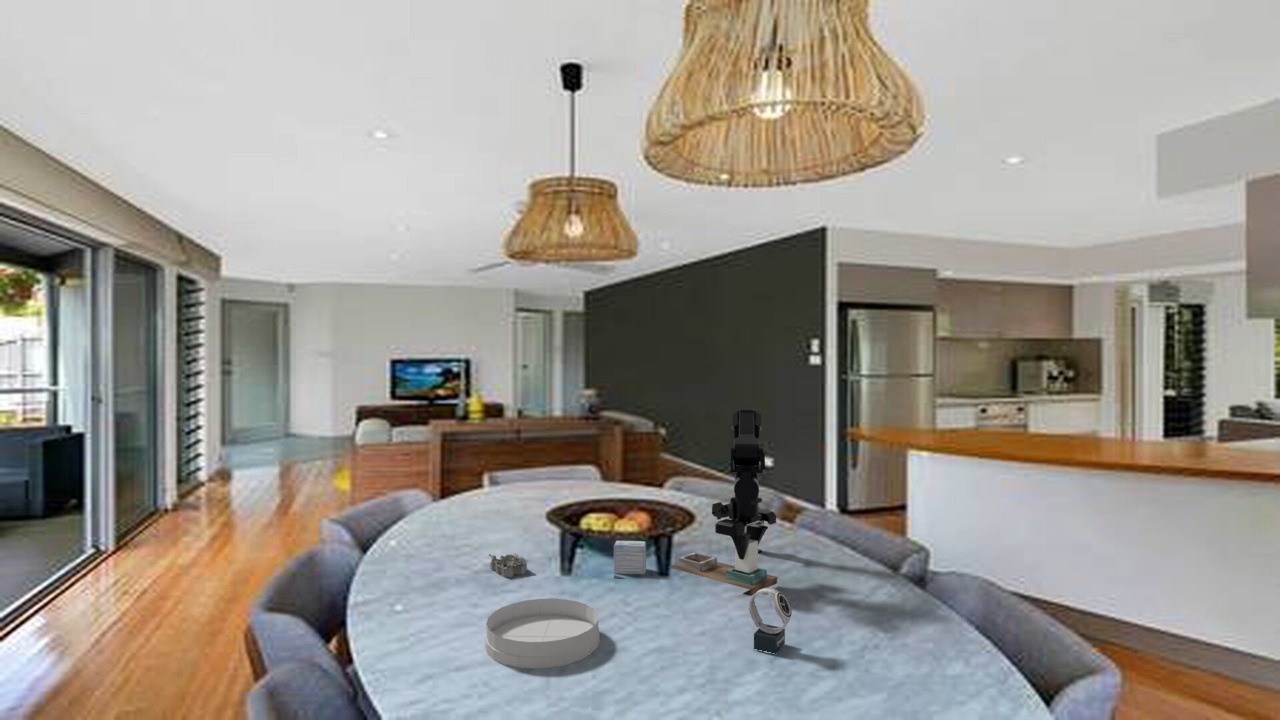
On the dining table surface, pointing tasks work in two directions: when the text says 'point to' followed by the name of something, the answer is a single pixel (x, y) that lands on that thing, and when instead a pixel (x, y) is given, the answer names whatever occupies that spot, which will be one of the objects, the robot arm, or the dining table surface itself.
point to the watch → (770, 635)
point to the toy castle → (509, 565)
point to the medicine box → (629, 557)
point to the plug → (748, 558)
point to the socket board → (724, 572)
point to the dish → (542, 633)
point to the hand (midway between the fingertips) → (746, 557)
